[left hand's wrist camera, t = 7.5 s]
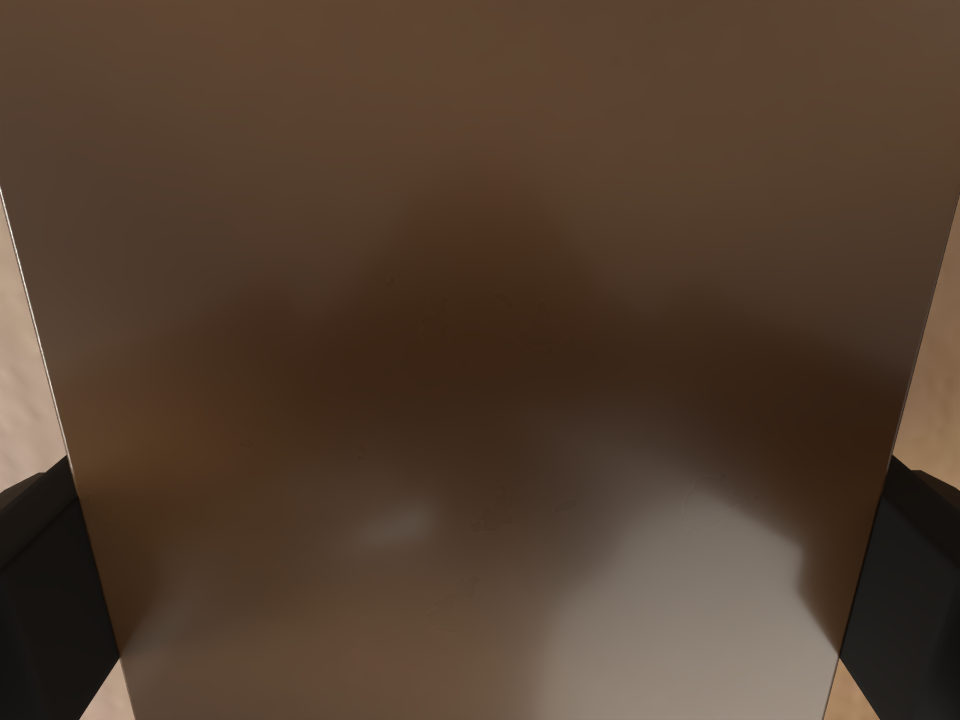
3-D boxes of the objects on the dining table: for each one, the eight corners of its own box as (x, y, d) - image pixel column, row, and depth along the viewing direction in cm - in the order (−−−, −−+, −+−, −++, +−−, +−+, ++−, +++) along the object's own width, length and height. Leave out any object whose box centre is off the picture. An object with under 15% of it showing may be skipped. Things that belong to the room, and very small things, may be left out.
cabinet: (234, -189, 14) (-261, -792, 4) (725, -188, 14) (1218, -788, 5) (307, 485, 19) (156, 812, 10) (651, 485, 19) (802, 811, 10)
